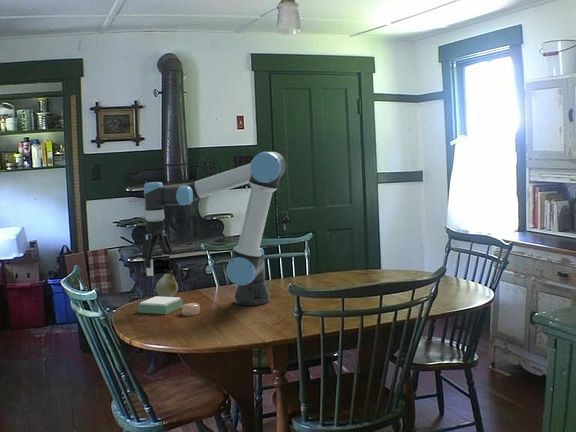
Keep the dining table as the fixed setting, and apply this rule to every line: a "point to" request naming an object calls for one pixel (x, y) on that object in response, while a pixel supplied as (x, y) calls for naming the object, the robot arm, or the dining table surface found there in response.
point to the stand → (160, 305)
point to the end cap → (160, 265)
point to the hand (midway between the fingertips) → (158, 272)
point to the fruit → (167, 286)
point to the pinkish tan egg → (190, 309)
